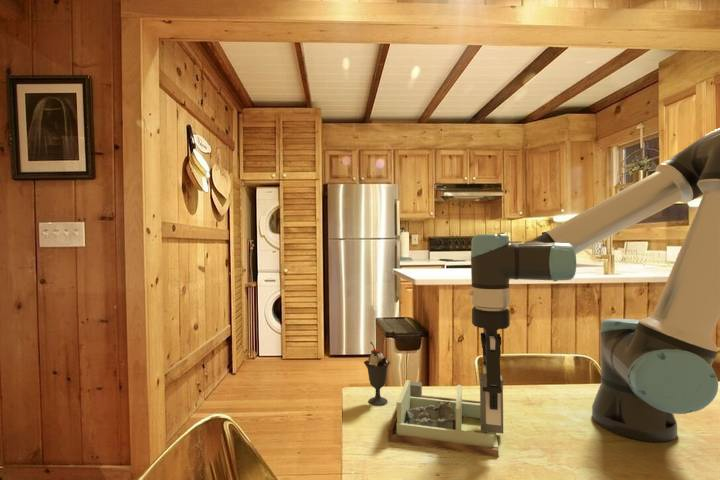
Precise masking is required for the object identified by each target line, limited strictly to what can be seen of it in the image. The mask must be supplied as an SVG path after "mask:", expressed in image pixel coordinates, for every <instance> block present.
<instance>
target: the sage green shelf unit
mask: <svg viewBox="0 0 720 480" xmlns="http://www.w3.org/2000/svg"><path fill="white" fill-rule="evenodd" d="M500 377H501V389H502V391H501V426H500V425H491V424H486V392H485V391H483V387H486V374H483V373H479V397H480V398H479V401H480V404H477V403H467V402H462V400H463V399H462V398H463V397H462V396H463V395H462V393H463V392H462V384H457V387H456V397H455V399H456V401H449V400H439V399H430V398H420V397H411V396H410V381H411V380H410V379H406V380H405V383H404V384H403V388H402V389H401V392H400V394H399V397H398V399H397V401H396V409H397V430H396V435H401V436H408V437H416V438H423V439H430V440H438V441H445V442H452V443H460V444H467V445H474V446H482V447H489V448H497V449H498V450H499V444H498V436H497V434H502V435H503V434H504V380H503V375H501V374H500ZM492 386H497V385H492ZM443 401H445V402H447V401H449V403H450V405H451V407H452V410H453V413H454V414H455V415H456V430H454V429H446V428H438V427H430V426H422V425H414V424H408V423H407V412H406V411H407V408H411V409H412V408H413V409H414V408H417V407H426V406H429V405H435V404H436V402H437V403H438V402H443ZM463 417H467V418H477V419H480V422H479V423H480V432H475V431H469V430H462V425H463V424H462V422H463V419H462V418H463ZM485 432H486V433H485Z"/></svg>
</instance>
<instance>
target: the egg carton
mask: <svg viewBox="0 0 720 480" xmlns="http://www.w3.org/2000/svg"><path fill="white" fill-rule="evenodd" d="M406 412H407V422H406V424H414V425H422V426H430V427H438V428H446V429H454V430H456V415H455V414H454V413H453V410H452V407H451V405H450V403H449V401H447V402H445V401H443V402H438V403H437V402H436V404H435V405H429V406H426V407H417V408H414V409H413V408H412V409H411V408H407V411H406Z"/></svg>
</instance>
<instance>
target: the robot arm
mask: <svg viewBox="0 0 720 480" xmlns="http://www.w3.org/2000/svg"><path fill="white" fill-rule="evenodd" d="M701 196H702V198H701V200H700V202H699V204H698V207H697V209H696V211H695V214H694V217H693V219H692V222H691V224H690V225H689V228H688V231H687V232H686V235H685V238H684V241H683V243H682V245H681V247H680V249H679V252H678V255H677V257H676V258H675V261H674V263H673V266H672V268H671V271H670V273H669V275H668V278H667V280H666V282H665V285H664V287H663V290H662V292H661V294H660V297H659V299H658V301H657V303H656V305H655V309H654V310H653V314H652V315H651V316H647V317H644V318H642V319H634V318H633V319H632V318H605V319H603V320H602V321H601V323H600V331H599V335H600V339H599V340H600V384H599V388H598V390H597V393H596V395H595V398H594V400H593V403H592V406H591V409H592V410H591V412H592V413H591V415H592V419H593V421H595V423H597V424H598V425H599V426H600V427H602V428H604V429H606V430H608V431H610V432H613V433H614V434H617V435H619V436H623V437H626V438H629V439H633V440H637V441H642V442H643V441H644V442H650V443H651V442H652V443H667V442H671V441H674V440H675V439H676V438H677V437H678V423H677V420H676V417H675V415H686V414H689V413H694V412H695V413H696V412H699V411H701V410H703V409H705V408H706V407H708V406H709V405H710V404H712V402H713V401H714V400H715V398H716V396H717V394H718V392H719V391H718V390H719V380H718V377H717V375H716V371H715V370H714V368H713V367H712V365H713V363H714V361H715V359H716V357H717V355H718V352H719V348H718V346H717V345H716V343H715V341H714V340H713V337H712V336H713V333H714V330H715V329H716V326H717V324H718V322H719V320H720V127H719V128H716V129H714V130H712V131H710V132H708V133H706V134H704V135H703V136H701V137H699V138H698V139H697V140H695V141H694V142H693V143H691V144H690V145H688V146H687V147H685V148H683V149H682V150H681V151H679V152H678V153H676V154H675V155H673V156H671V157H669V158H668V159H667V160H665V161H662V162H661V163H660V164H658V165H657V166H656V167H655V172H653V173H651V174H650V175H647V176H646V177H644V178H642V179H640V180H638V181H636V182H634V183H633V184H631V185H630V186H629V185H628V186H627V187H626V188H624V189H623V190H621V191H619V192H617V193H615V194H612V195H611V196H610V197H607V198H606V199H604V200H603V201H601V202H599V203H597V204H595V205H592V207H590V208H587V209H586V210H584V211H582V212H581V213H579V214H577V215H575V216H574V217H571V218H569V219H567V220H565V221H564V222H562V223H560V224H558V225H556V226H555V227H553V228H551V229H549V230H548V231H546V232H544V233H542V234H541V235H539V236H537V237H535V238H533V239H531V240H527V241H526V242H523V243H517V242H516V243H515V242H510V241H511V240H510V237H509V235H508V234H505V233H502V234H501V233H498V234H497V233H496V234H495V233H494V234H493V233H492V234H491V233H489V234H488V233H486V234H475V235H474V236H473V237H472V238H471V246H470V247H471V252H470V268H471V273H470V276H471V277H470V278H471V290H469V291H468V295H469V296H471V305H473V307H472V309H471V323H472V325H473V326H474V327H476V328H479V329H482V330H483V332H480V344H481V348H482V360H483V361H482V364H483V367H482V369H483V373H482V374H486V387H483V391H485V392H486V424H491V425H500V426H501V391H502V389H501V377H500V375H501V357H502V351H501V346H502V336H501V334H500V333H498V330H505V329H508V328H509V327H510V325H511V324H510V320H511V319H510V317H511V316H510V315H511V313H510V312H511V311H510V309H509V307H510V305H511V302H510V301H511V300H510V299H511V297H510V295H511V293H510V292H511V291H510V290H511V288H510V280H515V281H516V280H527V281H529V280H530V281H553V282H557V281H572V280H573V279H574V277H575V275H576V272H577V255H578V254H579V253H580V254H581V252H584V251H586V250H587V249H589V248H591V247H593V246H595V245H597V244H599V243H601V242H603V241H605V240H606V239H609V238H611V237H613V236H614V235H616V234H619V233H620V232H623V231H625V230H626V229H629V228H630V227H632V226H634V225H636V224H638V223H640V222H641V221H644V220H646V219H648V218H649V217H651V216H654V215H655V214H657V213H660V212H661V211H664V210H665V209H666V208H669V207H671V206H673V205H675V204H676V203H689V202H692V201H693V200H696V199H698V198H700V197H701ZM492 385H497V386H492Z"/></svg>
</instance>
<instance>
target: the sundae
mask: <svg viewBox="0 0 720 480" xmlns="http://www.w3.org/2000/svg"><path fill="white" fill-rule="evenodd" d="M369 344H371V345H372V348H373V349H372V350H370V352H371V353H370V355H369V357H368V358H367V360H365V361H364V362H363V364H364V365H365V367H366V368H367V372H368V380H369V383H370V386H371V387H373V388H374V390H375V395H374V397H371V398H369V399H368V401H367V402H368V403H369V405H372V406H374V407H375V406H376V407H381V406H385V405H386V404H388V399H387V398H385V397H382V396H381V388H383V387H384V386H385V385H386V381H387V374H388V367H389V366H390V364H391V361H390V360H387V357H385V356H384V354H383V353H382V352H380V351H378V350H377V349H376V348H375V345H374V344H373V342H372V341H370V342H369Z"/></svg>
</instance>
